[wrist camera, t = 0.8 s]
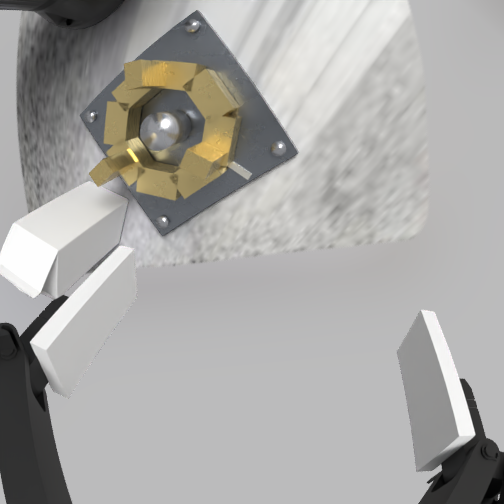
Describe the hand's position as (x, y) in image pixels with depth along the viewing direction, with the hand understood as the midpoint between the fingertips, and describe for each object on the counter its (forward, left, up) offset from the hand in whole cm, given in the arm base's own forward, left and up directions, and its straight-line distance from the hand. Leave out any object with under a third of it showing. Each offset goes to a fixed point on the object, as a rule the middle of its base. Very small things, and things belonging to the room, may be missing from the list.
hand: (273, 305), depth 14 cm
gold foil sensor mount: (-12, -9, -23) cm, 27 cm away
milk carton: (-10, -25, -25) cm, 36 cm away
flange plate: (-12, -9, -24) cm, 28 cm away
